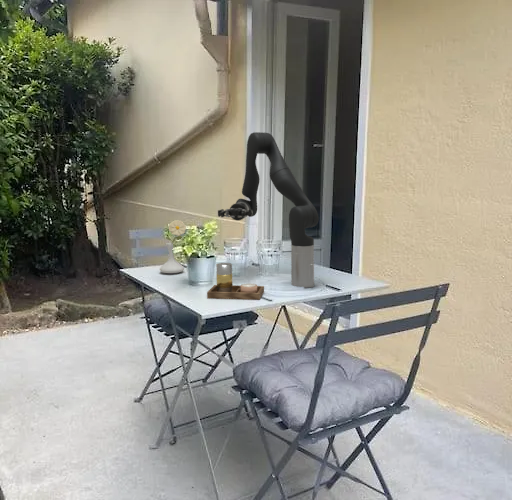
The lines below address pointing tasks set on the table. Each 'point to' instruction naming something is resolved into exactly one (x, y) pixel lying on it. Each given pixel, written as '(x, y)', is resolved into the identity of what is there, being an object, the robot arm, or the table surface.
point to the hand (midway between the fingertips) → (232, 214)
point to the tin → (224, 277)
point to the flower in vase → (172, 264)
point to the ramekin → (249, 288)
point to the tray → (235, 293)
